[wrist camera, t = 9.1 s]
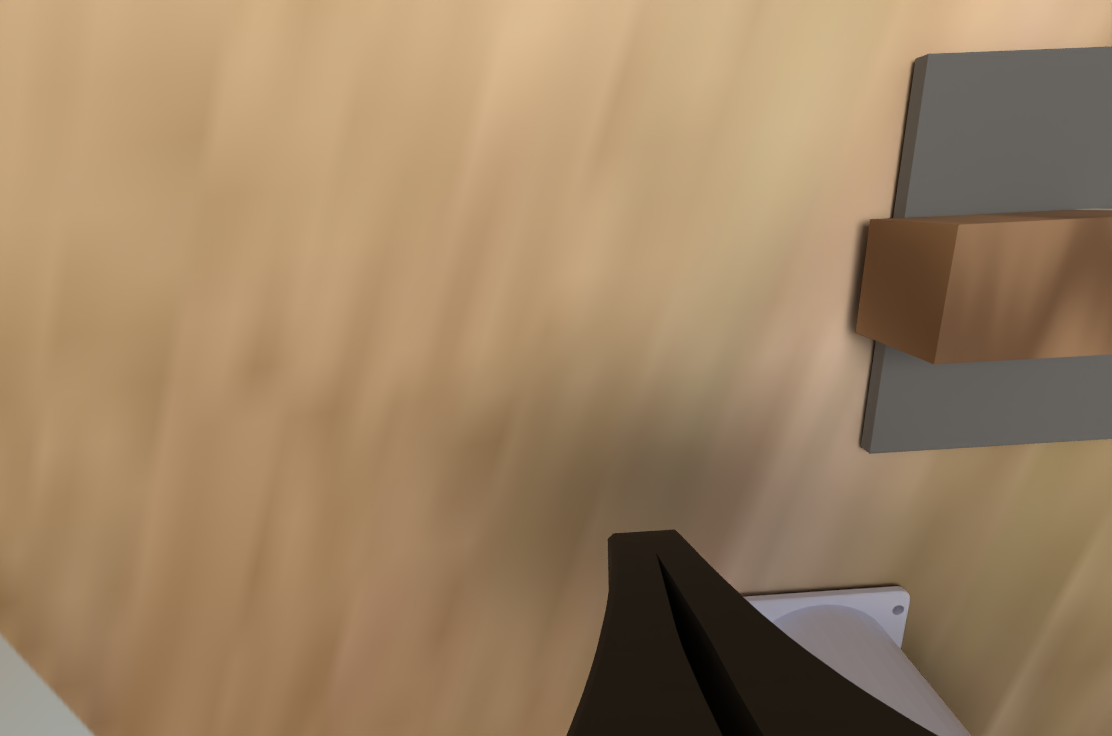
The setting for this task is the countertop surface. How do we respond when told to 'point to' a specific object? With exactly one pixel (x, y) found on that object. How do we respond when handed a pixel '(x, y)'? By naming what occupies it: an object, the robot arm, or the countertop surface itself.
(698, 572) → the robot arm
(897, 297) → the walnut block
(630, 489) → the countertop surface
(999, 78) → the rubber mat
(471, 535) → the countertop surface
